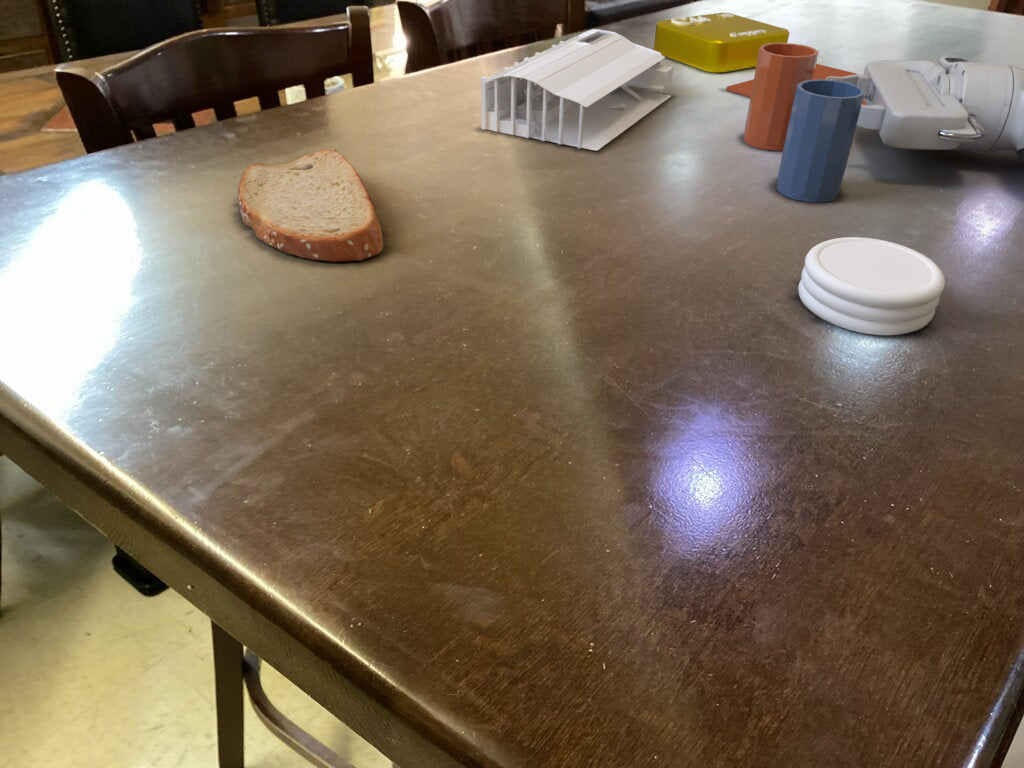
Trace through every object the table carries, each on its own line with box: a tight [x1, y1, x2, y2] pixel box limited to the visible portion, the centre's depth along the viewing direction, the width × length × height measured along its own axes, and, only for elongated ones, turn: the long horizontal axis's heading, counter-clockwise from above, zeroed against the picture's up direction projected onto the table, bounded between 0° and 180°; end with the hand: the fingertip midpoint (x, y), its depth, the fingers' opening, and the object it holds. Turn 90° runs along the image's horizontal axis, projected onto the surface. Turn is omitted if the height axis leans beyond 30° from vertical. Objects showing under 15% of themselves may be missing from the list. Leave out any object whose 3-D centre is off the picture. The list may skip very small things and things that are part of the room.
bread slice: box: [237, 148, 384, 262], centre depth 75 cm, size 18×18×4 cm
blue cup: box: [775, 79, 866, 203], centre depth 79 cm, size 6×6×10 cm
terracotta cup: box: [743, 42, 820, 152], centre depth 90 cm, size 6×6×10 cm
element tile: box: [653, 12, 790, 74], centre depth 122 cm, size 15×15×5 cm
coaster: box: [797, 236, 946, 336], centre depth 62 cm, size 10×10×4 cm
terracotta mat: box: [725, 63, 866, 105], centre depth 109 cm, size 18×20×1 cm
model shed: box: [480, 28, 674, 152], centre depth 99 cm, size 25×15×7 cm, turn 151°
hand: (828, 97), depth 89 cm, fingers open, 8 cm apart
